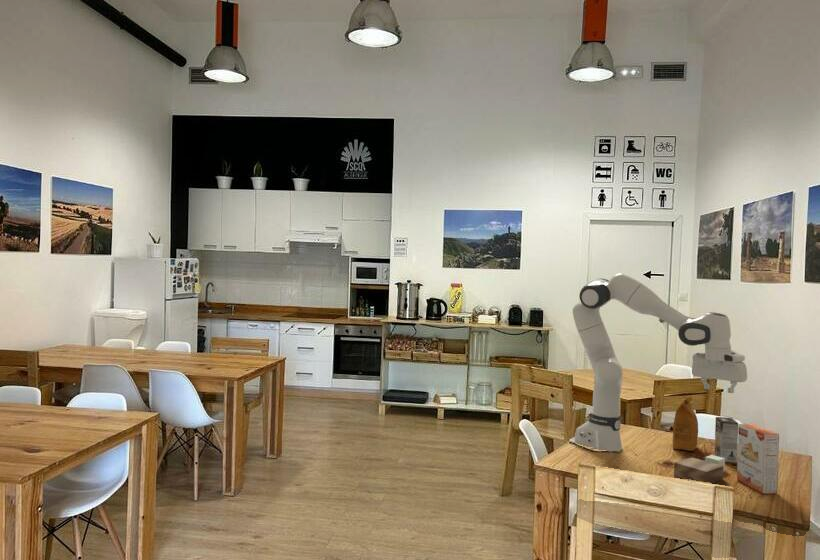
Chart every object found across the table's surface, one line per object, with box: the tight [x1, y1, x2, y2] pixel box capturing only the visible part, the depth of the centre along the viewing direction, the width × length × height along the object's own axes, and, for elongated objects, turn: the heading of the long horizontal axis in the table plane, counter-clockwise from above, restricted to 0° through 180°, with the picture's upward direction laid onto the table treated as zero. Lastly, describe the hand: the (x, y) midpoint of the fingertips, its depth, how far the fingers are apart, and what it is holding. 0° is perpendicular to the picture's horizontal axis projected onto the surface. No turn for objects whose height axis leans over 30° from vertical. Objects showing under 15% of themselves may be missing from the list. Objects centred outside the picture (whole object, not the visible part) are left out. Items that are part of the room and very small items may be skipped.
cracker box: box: [736, 423, 780, 495], centre depth 211 cm, size 14×6×21 cm, turn 5°
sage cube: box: [704, 454, 726, 473], centre depth 228 cm, size 5×5×5 cm
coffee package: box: [671, 395, 699, 452], centre depth 257 cm, size 10×12×22 cm
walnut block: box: [673, 456, 724, 484], centre depth 219 cm, size 12×12×5 cm
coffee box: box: [714, 416, 739, 464], centre depth 244 cm, size 9×6×16 cm
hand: (718, 390), depth 229 cm, fingers open, 8 cm apart
